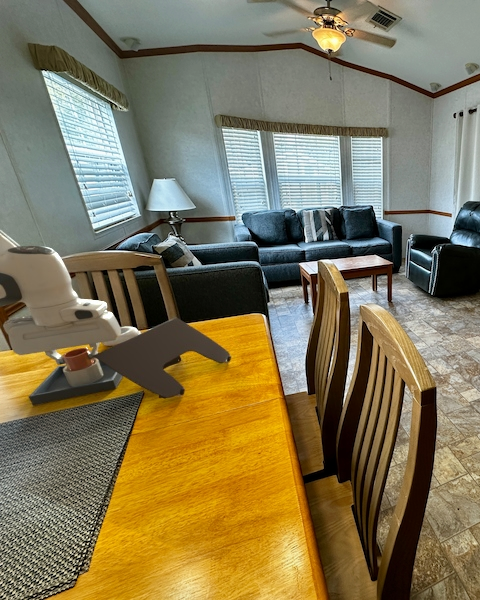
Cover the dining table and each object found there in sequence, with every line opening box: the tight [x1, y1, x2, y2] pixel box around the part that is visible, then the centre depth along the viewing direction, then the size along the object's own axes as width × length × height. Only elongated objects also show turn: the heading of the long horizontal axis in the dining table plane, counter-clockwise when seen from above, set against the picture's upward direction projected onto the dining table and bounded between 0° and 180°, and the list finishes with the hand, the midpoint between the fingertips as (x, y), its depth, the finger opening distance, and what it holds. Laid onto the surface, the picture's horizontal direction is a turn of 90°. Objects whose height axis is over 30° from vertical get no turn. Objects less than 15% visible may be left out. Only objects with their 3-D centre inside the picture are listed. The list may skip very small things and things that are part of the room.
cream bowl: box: [63, 358, 104, 387], centre depth 86 cm, size 7×7×4 cm
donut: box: [100, 326, 140, 347], centre depth 108 cm, size 10×4×10 cm
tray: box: [28, 360, 124, 406], centre depth 87 cm, size 16×14×3 cm
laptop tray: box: [93, 317, 232, 399], centre depth 90 cm, size 23×23×9 cm
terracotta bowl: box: [61, 347, 94, 371], centre depth 85 cm, size 5×5×4 cm
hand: (79, 360), depth 85 cm, fingers closed on terracotta bowl, 5 cm apart
